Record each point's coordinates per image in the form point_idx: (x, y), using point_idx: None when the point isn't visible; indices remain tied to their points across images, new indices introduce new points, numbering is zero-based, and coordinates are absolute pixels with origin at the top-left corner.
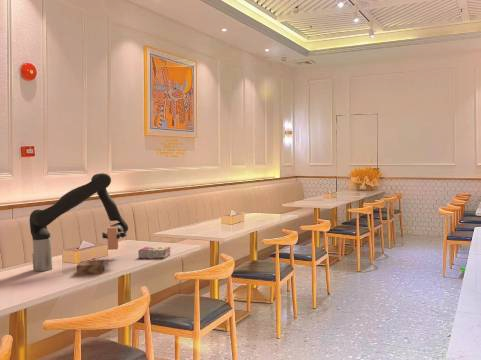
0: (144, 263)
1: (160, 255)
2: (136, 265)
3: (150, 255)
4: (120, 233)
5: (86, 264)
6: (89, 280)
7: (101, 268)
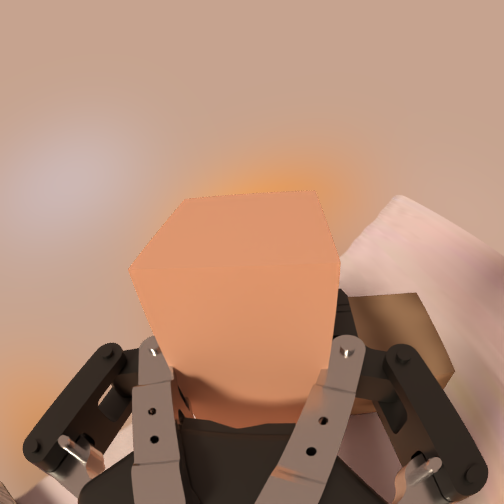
0: None
1: (1, 489)
2: None
3: None
4: (112, 489)
5: (385, 305)
6: None
7: None
